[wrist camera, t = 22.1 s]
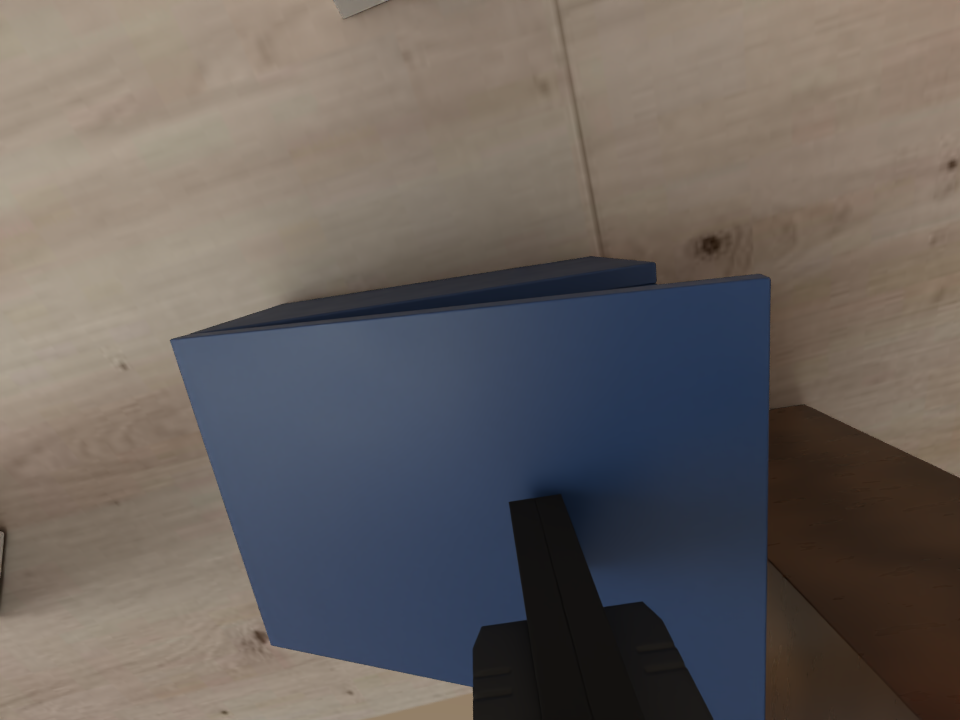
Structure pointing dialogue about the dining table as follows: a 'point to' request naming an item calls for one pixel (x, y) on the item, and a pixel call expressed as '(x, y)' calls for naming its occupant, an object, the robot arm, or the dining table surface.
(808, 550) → the stand
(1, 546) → the milk carton
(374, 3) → the white double channel rack
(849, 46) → the dining table surface
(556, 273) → the box
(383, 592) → the lid
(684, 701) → the robot arm
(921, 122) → the dining table surface
